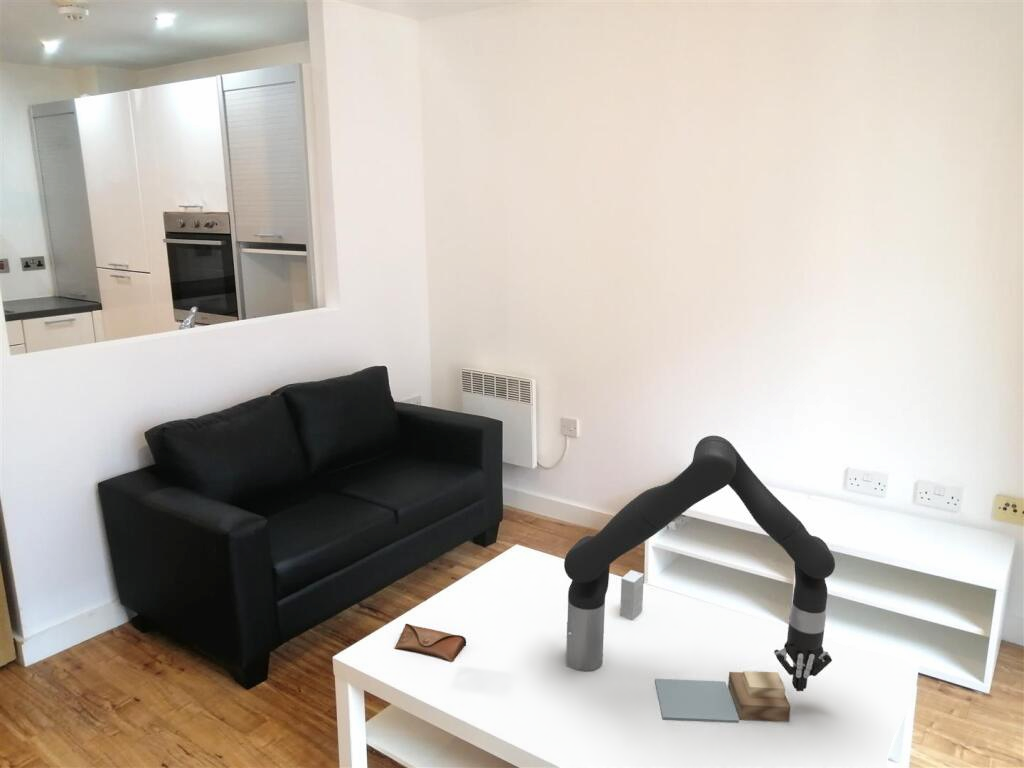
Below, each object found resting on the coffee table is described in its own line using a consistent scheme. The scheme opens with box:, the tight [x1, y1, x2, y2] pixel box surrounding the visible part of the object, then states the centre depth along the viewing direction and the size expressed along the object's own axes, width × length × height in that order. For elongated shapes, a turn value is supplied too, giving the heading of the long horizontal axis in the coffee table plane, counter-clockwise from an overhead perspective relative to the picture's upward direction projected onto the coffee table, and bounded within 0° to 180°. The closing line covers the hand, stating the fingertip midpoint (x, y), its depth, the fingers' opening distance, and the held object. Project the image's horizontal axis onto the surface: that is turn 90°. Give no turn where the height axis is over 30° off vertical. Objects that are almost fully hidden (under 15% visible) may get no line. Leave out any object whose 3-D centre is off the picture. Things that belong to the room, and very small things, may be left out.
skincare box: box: [619, 569, 645, 621], centre depth 212 cm, size 6×4×12 cm
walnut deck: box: [727, 671, 792, 723], centre depth 175 cm, size 11×12×4 cm
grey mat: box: [654, 678, 740, 724], centre depth 177 cm, size 17×14×1 cm
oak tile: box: [743, 670, 786, 698], centre depth 175 cm, size 8×6×2 cm
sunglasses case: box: [393, 623, 467, 663], centre depth 197 cm, size 18×7×7 cm
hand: (798, 688), depth 174 cm, fingers closed
